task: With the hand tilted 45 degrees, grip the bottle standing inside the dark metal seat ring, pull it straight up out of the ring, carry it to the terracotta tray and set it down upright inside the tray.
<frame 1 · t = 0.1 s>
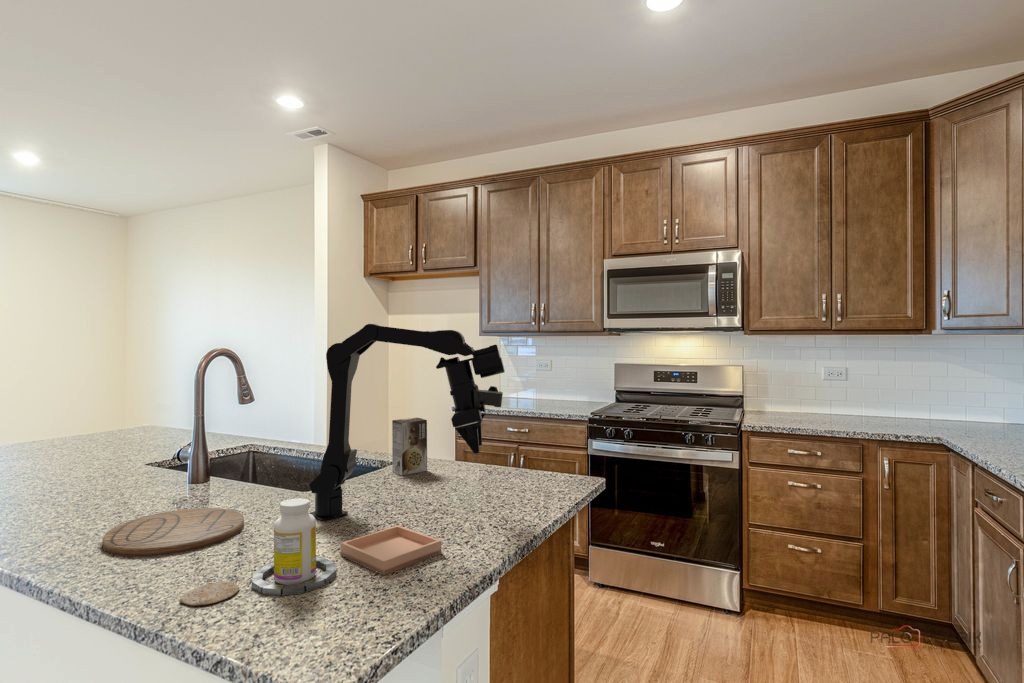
hand: (478, 449, 126), 15 cm above the worktop, tool pointing down, fingers open, 9 cm apart
supplement bottle: (294, 579, 93), resting in seat ring
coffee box: (409, 472, 170), on the worktop
tray: (391, 554, 103), on the worktop
flatbread: (209, 598, 86), on the worktop
trivet: (177, 536, 114), on the worktop
seat ring: (294, 577, 93), on the worktop
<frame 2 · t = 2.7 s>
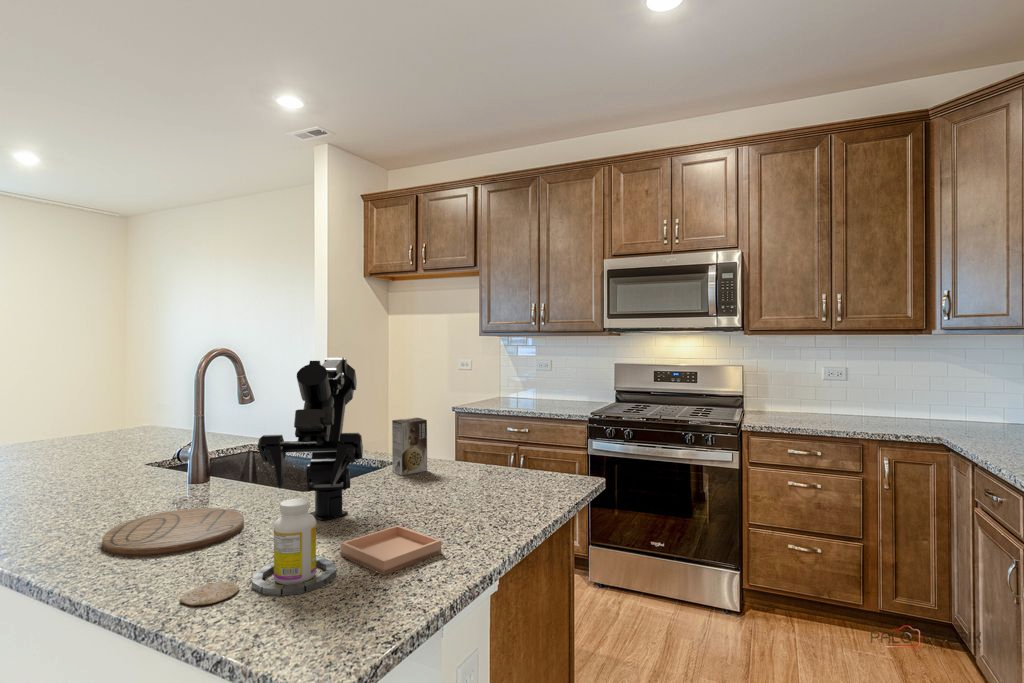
hand: (306, 486, 101), 13 cm above the worktop, tool tilted 45°, fingers open, 9 cm apart
nothing on the worktop moved.
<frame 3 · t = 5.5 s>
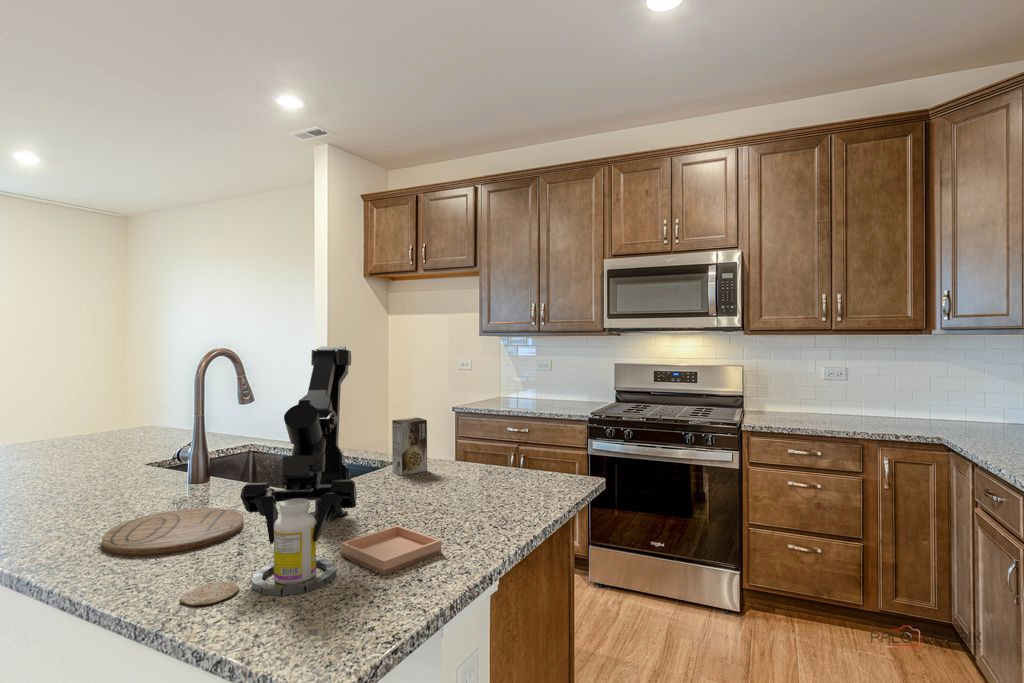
hand: (293, 541, 91), 7 cm above the worktop, tool tilted 45°, fingers closed on supplement bottle, 7 cm apart
supplement bottle: (294, 579, 93), resting in seat ring, touching gripper
everything else where it was.
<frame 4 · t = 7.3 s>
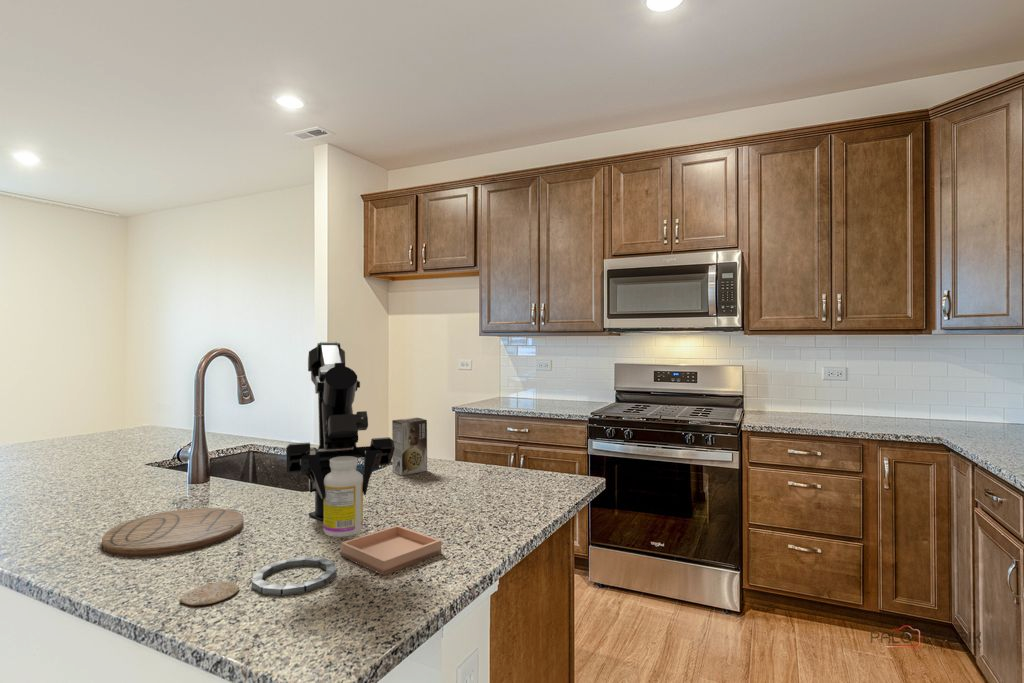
hand: (344, 495, 95), 13 cm above the worktop, tool tilted 45°, fingers closed on supplement bottle, 7 cm apart
supplement bottle: (342, 532, 97), point 6 cm above the worktop, touching gripper
everything else where it was.
when the fingers open (8 cm above the worktop, at t = 9.5 s): supplement bottle stays where it is, resting on tray.
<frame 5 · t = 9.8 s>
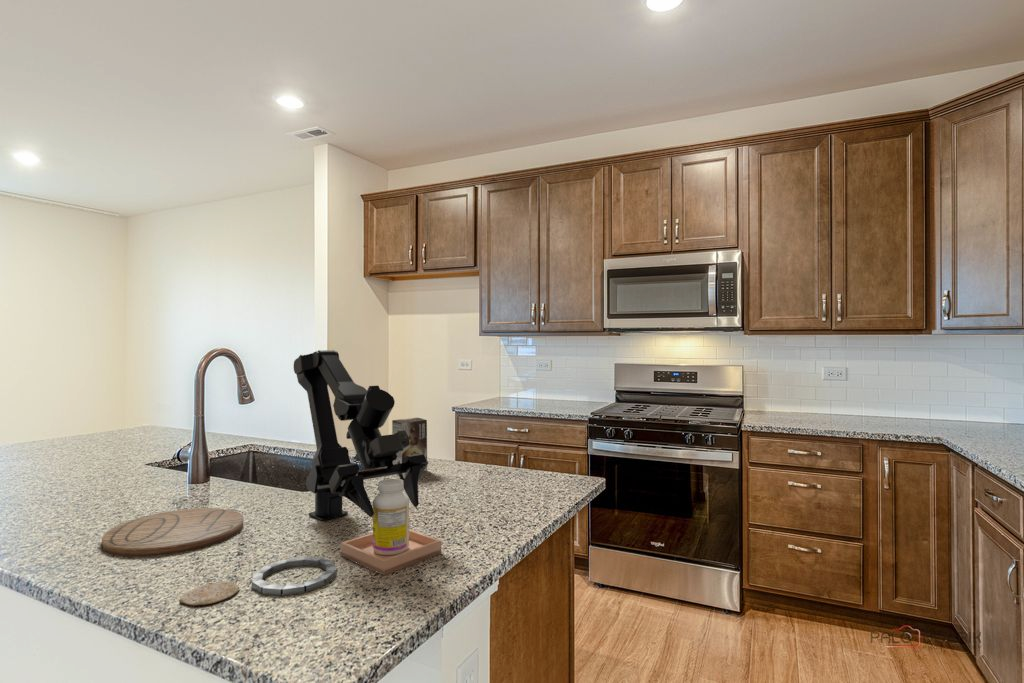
hand: (395, 510, 102), 9 cm above the worktop, tool tilted 45°, fingers open, 9 cm apart
supplement bottle: (390, 550, 103), point 1 cm above the worktop, touching tray
everything else where it was.
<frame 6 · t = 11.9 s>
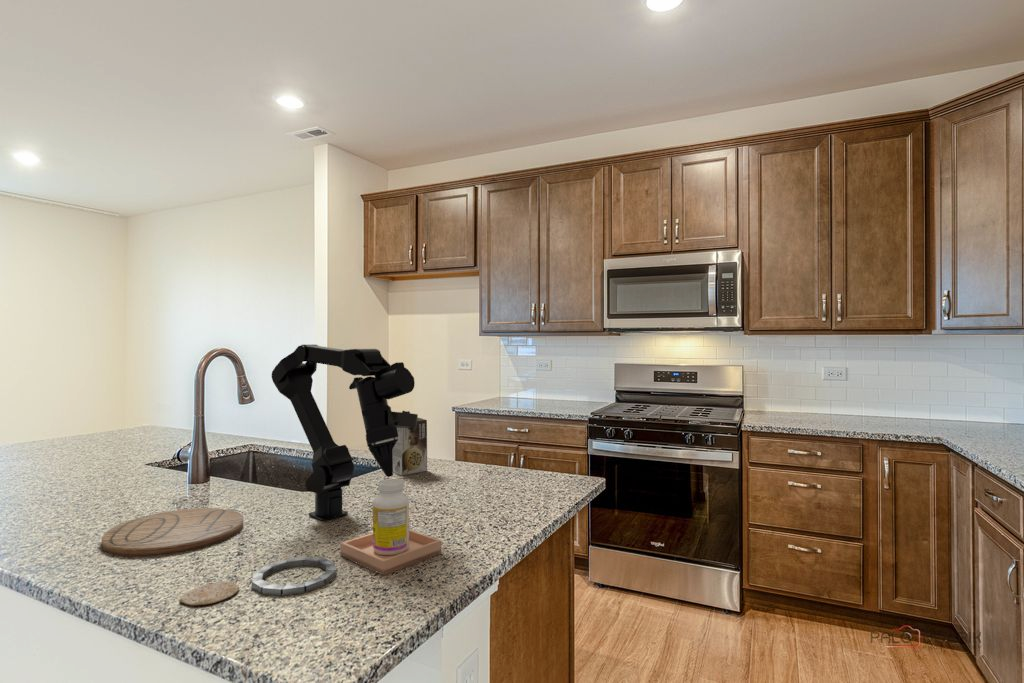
hand: (389, 475, 117), 11 cm above the worktop, tool tilted 15°, fingers open, 9 cm apart
nothing on the worktop moved.
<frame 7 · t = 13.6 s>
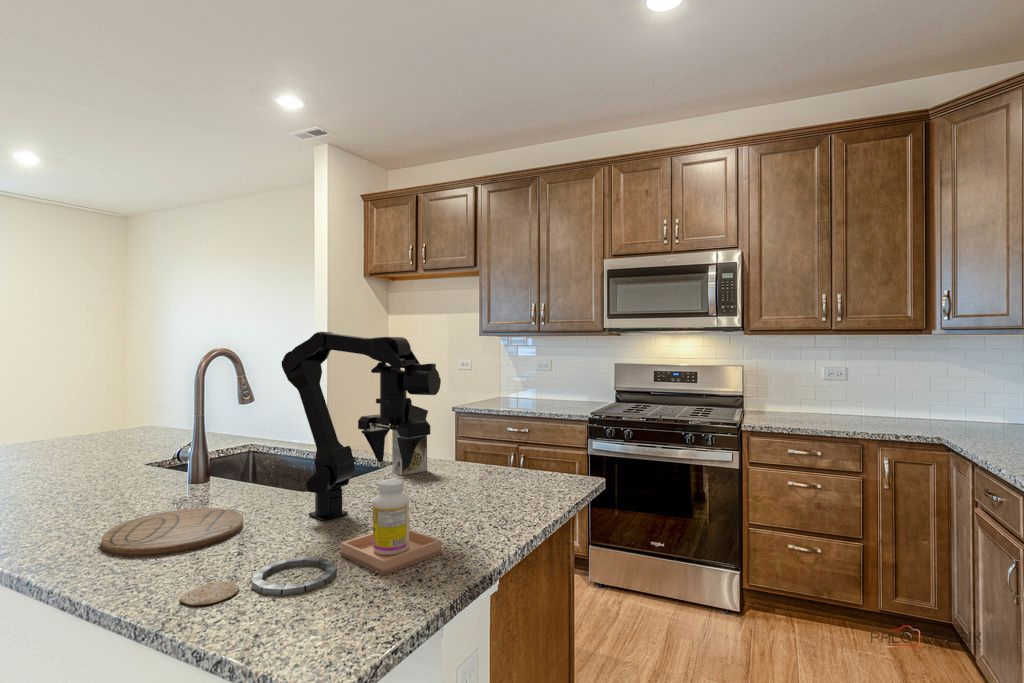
hand: (393, 464, 121), 13 cm above the worktop, tool pointing down, fingers open, 9 cm apart
nothing on the worktop moved.
at the end: supplement bottle inside the target area on the tray (0.2 cm from its centre), point 0.6 cm above the tray's base; supplement bottle tilted 0°; the gripper is holding nothing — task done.
